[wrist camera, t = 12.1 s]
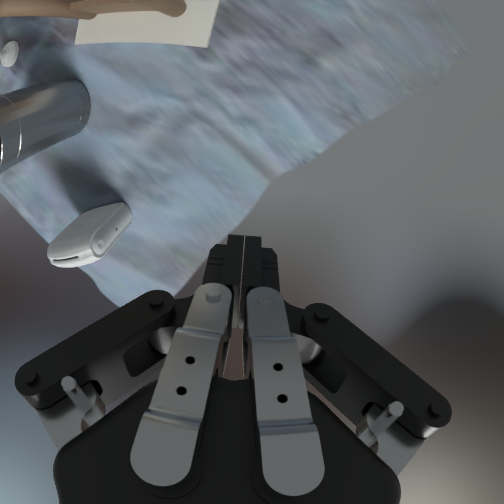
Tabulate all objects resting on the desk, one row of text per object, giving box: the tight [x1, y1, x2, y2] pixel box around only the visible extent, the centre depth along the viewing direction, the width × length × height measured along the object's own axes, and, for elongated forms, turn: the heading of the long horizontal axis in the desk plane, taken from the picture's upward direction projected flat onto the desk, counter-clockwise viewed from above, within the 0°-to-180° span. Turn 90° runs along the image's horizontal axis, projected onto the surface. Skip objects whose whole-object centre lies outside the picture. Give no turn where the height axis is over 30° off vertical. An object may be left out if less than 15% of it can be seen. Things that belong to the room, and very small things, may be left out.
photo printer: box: [47, 203, 132, 267], centre depth 38 cm, size 10×4×12 cm, turn 102°
